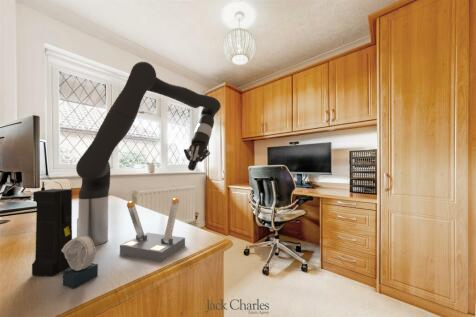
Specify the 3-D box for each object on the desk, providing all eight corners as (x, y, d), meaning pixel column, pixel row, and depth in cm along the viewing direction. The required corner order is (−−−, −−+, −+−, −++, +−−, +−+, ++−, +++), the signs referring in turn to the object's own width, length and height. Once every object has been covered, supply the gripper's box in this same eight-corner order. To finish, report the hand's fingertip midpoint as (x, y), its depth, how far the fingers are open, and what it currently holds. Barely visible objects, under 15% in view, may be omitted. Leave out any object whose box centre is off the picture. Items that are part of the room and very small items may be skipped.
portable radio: (78, 265, 57) (79, 180, 57) (56, 277, 51) (58, 182, 51) (54, 264, 57) (55, 180, 58) (30, 276, 51) (32, 182, 52)
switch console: (119, 254, 63) (119, 240, 64) (147, 240, 75) (147, 228, 75) (161, 262, 58) (161, 247, 58) (185, 246, 69) (185, 233, 69)
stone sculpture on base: (82, 271, 53) (82, 231, 53) (102, 277, 50) (102, 235, 51) (57, 283, 48) (57, 239, 48) (78, 290, 45) (78, 243, 45)
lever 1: (136, 239, 68) (124, 203, 63) (141, 234, 70) (130, 199, 65) (141, 240, 67) (129, 203, 63) (146, 235, 69) (135, 200, 65)
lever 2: (161, 241, 64) (171, 197, 69) (166, 240, 66) (175, 198, 71) (167, 241, 63) (177, 197, 68) (172, 241, 65) (180, 199, 70)
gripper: (185, 131, 88) (172, 165, 80) (211, 130, 83) (200, 166, 75) (194, 140, 94) (182, 172, 86) (218, 139, 89) (208, 174, 82)
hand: (190, 169), depth 81 cm, fingers closed
